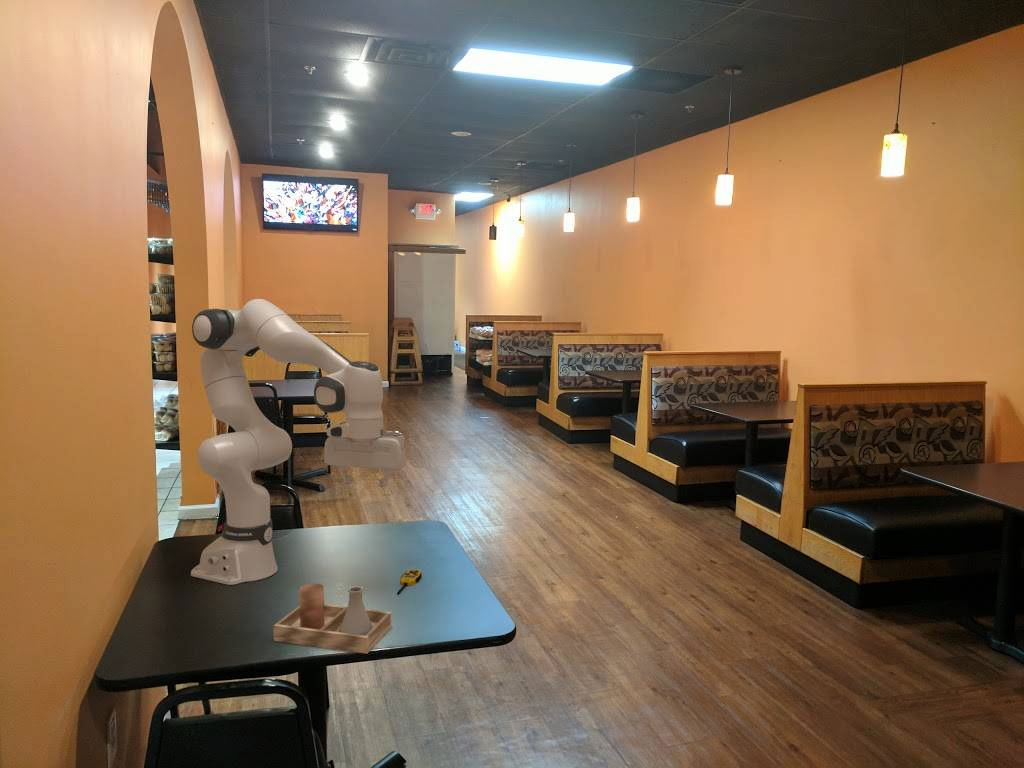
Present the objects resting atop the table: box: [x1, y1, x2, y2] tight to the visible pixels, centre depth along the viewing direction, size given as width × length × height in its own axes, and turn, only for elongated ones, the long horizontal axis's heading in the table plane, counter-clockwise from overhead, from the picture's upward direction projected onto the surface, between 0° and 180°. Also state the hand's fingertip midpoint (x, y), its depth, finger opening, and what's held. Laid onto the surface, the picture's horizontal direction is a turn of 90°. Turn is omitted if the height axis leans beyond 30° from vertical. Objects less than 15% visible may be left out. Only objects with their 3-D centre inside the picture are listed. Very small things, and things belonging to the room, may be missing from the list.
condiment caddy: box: [272, 583, 393, 655], centre depth 160 cm, size 22×13×10 cm, turn 76°
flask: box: [339, 585, 373, 636], centre depth 159 cm, size 7×7×10 cm
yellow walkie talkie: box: [396, 568, 422, 595], centre depth 189 cm, size 5×2×15 cm
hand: (365, 485), depth 176 cm, fingers open, 8 cm apart
